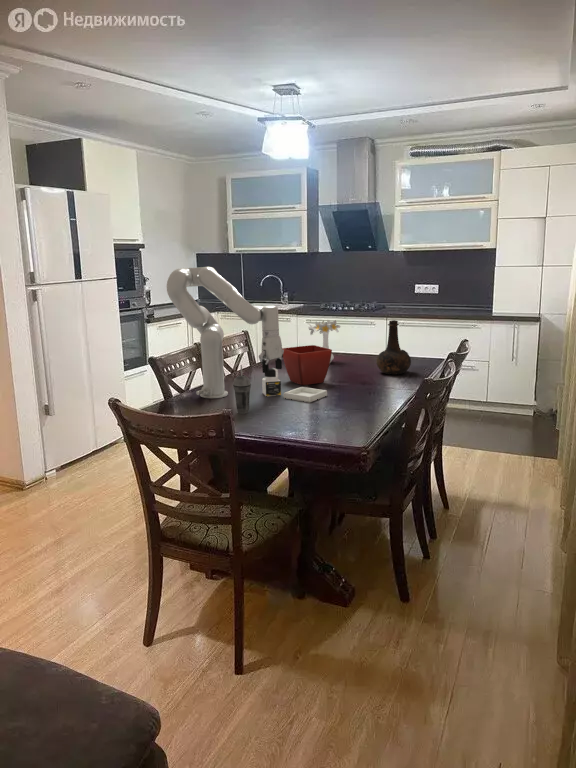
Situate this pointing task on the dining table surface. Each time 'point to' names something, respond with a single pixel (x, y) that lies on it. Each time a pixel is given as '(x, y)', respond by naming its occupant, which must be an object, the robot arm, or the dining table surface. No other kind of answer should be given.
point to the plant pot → (307, 363)
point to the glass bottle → (393, 354)
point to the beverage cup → (242, 393)
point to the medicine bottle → (271, 383)
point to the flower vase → (324, 331)
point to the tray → (305, 394)
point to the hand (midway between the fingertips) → (272, 370)
